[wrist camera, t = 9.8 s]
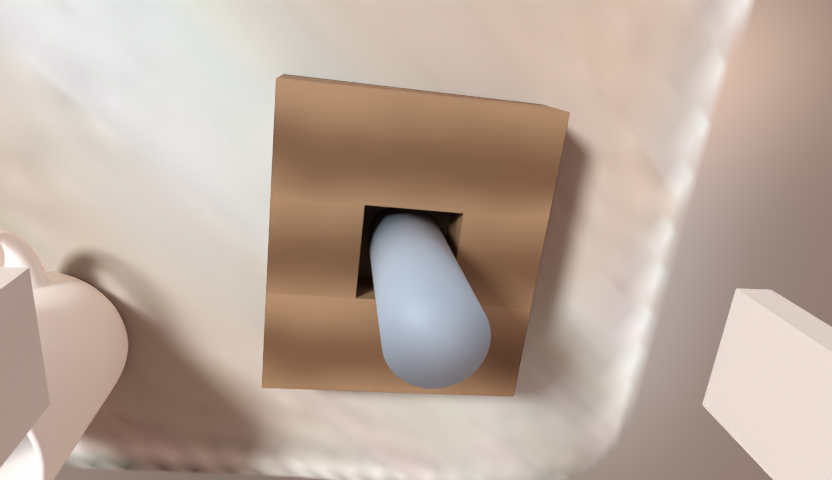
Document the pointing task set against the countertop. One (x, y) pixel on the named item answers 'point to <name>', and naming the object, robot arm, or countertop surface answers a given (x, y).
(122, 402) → the countertop surface
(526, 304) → the board
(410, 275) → the dowel
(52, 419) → the mug
